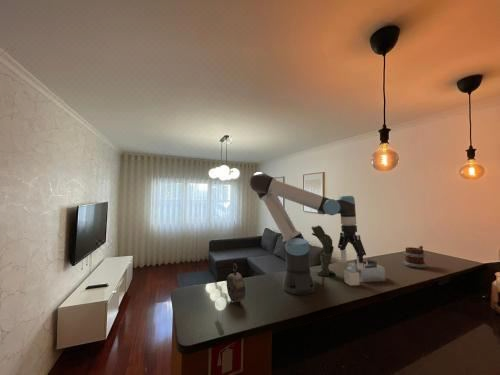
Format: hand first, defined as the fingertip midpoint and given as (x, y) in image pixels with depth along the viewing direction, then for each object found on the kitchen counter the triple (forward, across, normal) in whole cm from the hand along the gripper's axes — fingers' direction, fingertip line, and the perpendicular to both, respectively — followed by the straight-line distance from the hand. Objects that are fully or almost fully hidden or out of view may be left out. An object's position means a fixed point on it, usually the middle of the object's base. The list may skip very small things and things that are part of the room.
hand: (351, 265), depth 108 cm
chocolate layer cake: (+10, +20, -59) cm, 64 cm away
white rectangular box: (+9, +6, -12) cm, 17 cm away
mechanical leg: (+9, +16, +8) cm, 20 cm away
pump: (+9, 0, +1) cm, 9 cm away
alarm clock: (+8, -12, +63) cm, 64 cm away
